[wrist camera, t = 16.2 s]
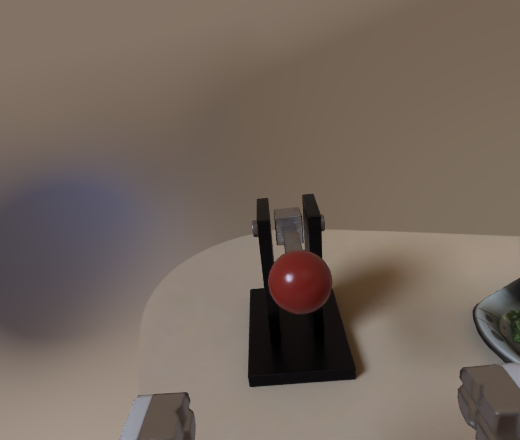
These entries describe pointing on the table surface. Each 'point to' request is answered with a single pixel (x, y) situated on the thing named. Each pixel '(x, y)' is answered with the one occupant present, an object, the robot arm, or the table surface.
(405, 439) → the table surface
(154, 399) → the robot arm
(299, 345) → the bracket
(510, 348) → the plate of avocado toast
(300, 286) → the lever
